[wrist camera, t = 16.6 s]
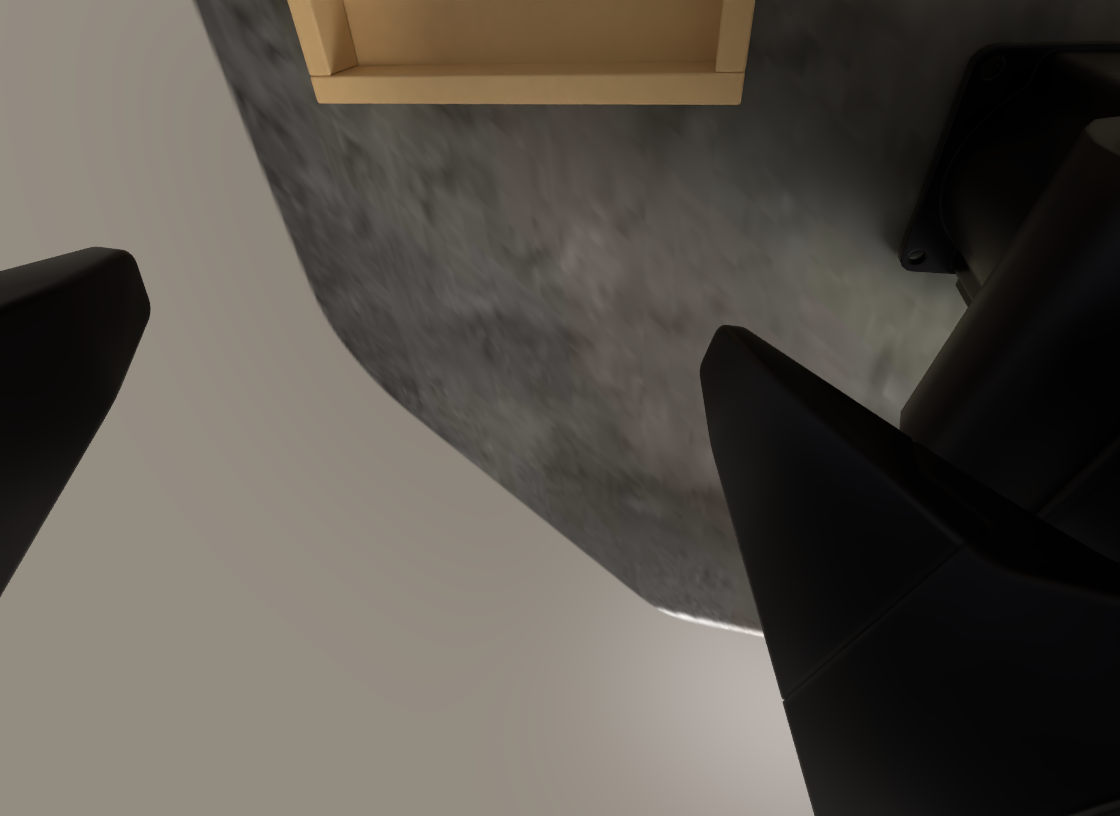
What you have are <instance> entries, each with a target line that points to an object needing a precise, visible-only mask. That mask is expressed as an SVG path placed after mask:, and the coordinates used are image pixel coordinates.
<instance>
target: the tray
mask: <svg viewBox="0 0 1120 816" xmlns="http://www.w3.org/2000/svg"><path fill="white" fill-rule="evenodd" d="M287 1H288V4H289V7H290V11H291V14H292V17H293V21H294V24H295V27H296V31H297V34H298V37H299V41H300V44H301V47H302V51H303V54H304V57H305V61H306V64H307V67H308V71H309V74H310V75H312V77H311V81H312V84H313V88H314V91H315V94H316V98H317V101H318V103H342V104H635V105H739V104H740V103H741V98H742V91H743V84H744V77H745V69H746V63H747V56H748V49H749V42H750V35H751V28H752V21H753V14H754V7H755V0H287Z"/></svg>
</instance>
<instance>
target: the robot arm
mask: <svg viewBox="0 0 1120 816" xmlns="http://www.w3.org/2000/svg"><path fill="white" fill-rule="evenodd" d="M996 56H997V57H998V58H999V65H998V66H997V68H996V69H995V70H994V71H993V72H992V73H990V74H988V75H984V76H983V75H982V74H981V68H982V66H983V65H984V63H985V62H986V61H987V60H989V59H990V58H992V57H996ZM919 250H921V251H924V253H923V254H922V256H921V257H919V258H917V259H909V256H910V255H911V254H912V253H913V252H915V251H919ZM898 257H899V260H900V262H901V265H902V267H904V268H905V269H906V270H909V271H916V272H932V273H948V274H957V276H958V281H957V283H956V287H957V288H958V290H959V292H960V294H961V296H962V297H963V299H964V301H965V303H966V305H967V306H968V309H967V310H966V312H965V313H964V315H963V316H962V318H961V319H960V321H959V322H958V324H957V326H956V327H955V329H954V330H953V332H952V333H951V335H950V336H949V338H948V339H947V341H946V343H945V344H944V346H943V347H942V349H941V350H940V352H939V353H938V355H937V356H936V358H935V360H934V361H933V363H932V364H931V366H930V367H929V369H928V370H927V372H926V374H925V375H924V377H923V378H922V380H921V381H920V383H919V384H918V386H917V387H916V389H915V391H914V392H913V394H912V395H911V397H910V398H909V400H908V401H907V403H906V404H905V406H904V408H903V409H902V411H901V417H900V430H899V429H897V428H896V427H894V426H893V425H891V424H890V423H888V422H887V421H885V420H884V419H882V418H881V417H879V416H878V415H876V414H874V413H873V412H871V411H870V410H868V409H867V408H865V407H864V406H862V405H861V404H859V403H858V402H856V401H855V400H853V399H852V398H850V397H849V396H847V395H846V394H844V393H843V392H841V391H840V390H838V389H837V388H835V387H834V386H832V385H831V384H829V383H828V382H826V381H825V380H823V379H822V378H820V377H819V376H817V375H816V374H814V373H813V372H811V371H810V370H808V369H807V368H805V367H803V366H802V365H800V364H799V363H797V362H796V361H794V360H793V359H791V358H790V357H788V356H787V355H785V354H784V353H782V352H781V351H779V350H778V349H776V348H775V347H773V346H772V345H770V344H769V343H767V342H766V341H764V340H763V339H761V338H760V337H758V336H757V335H755V334H754V333H752V332H751V331H749V330H748V329H746V328H744V327H739V326H731V325H722V326H720V327H719V328H718V329H717V330H716V332H715V334H714V336H713V338H712V341H711V343H710V345H709V347H708V349H707V352H706V354H705V356H704V358H703V360H702V363H701V367H700V379H701V386H702V392H703V399H704V405H705V412H706V418H707V425H708V431H709V437H710V442H711V447H712V451H713V455H714V459H715V463H716V466H717V470H718V473H719V477H720V480H721V484H722V487H723V491H724V495H725V498H726V502H727V505H728V509H729V512H730V516H731V519H732V523H733V527H734V530H735V534H736V537H737V541H738V544H739V548H740V551H741V555H742V559H743V562H744V566H745V569H746V573H747V576H748V580H749V583H750V587H751V591H752V594H753V598H754V601H755V605H756V608H757V612H758V615H759V619H760V623H761V626H762V630H763V633H764V637H765V640H766V644H767V647H768V651H769V654H770V658H771V662H772V665H773V669H774V672H775V676H776V679H777V683H778V686H779V690H780V694H781V697H782V699H784V701H783V706H784V709H785V713H786V716H787V720H788V723H789V727H790V730H791V734H792V737H793V741H794V745H795V748H796V752H797V755H798V759H799V762H800V766H801V769H802V773H803V776H804V780H805V784H806V787H807V791H808V794H809V798H810V801H811V805H812V808H813V812H814V815H815V816H1120V41H1093V42H1039V43H995V44H990V45H987V46H985V47H983V48H981V49H980V50H978V51H977V52H976V53H975V54H974V55H973V56H972V58H971V59H970V61H969V63H968V65H967V67H966V70H965V73H964V75H963V78H962V81H961V84H960V86H959V89H958V92H957V94H956V97H955V100H954V103H953V105H952V108H951V111H950V114H949V116H948V119H947V122H946V124H945V127H944V130H943V133H942V135H941V138H940V141H939V144H938V146H937V149H936V152H935V154H934V157H933V160H932V163H931V165H930V168H929V171H928V174H927V176H926V179H925V182H924V184H923V187H922V190H921V193H920V195H919V198H918V201H917V203H916V206H915V209H914V212H913V214H912V217H911V220H910V223H909V225H908V228H907V231H906V233H905V236H904V239H903V242H902V244H901V247H900V250H899V255H898ZM149 317H150V302H149V298H148V295H147V293H146V289H145V286H144V283H143V281H142V278H141V274H140V272H139V268H138V265H137V263H136V261H135V259H134V257H133V256H132V255H131V254H130V253H128V252H127V251H125V250H119V249H112V248H103V247H91V248H87V249H83V250H79V251H75V252H72V253H67V254H64V255H60V256H56V257H52V258H49V259H45V260H41V261H37V262H33V263H30V264H26V265H22V266H19V267H14V268H11V269H7V270H3V271H0V597H1V595H2V593H3V592H4V590H5V588H6V586H7V585H8V583H9V581H10V580H11V578H12V576H13V574H14V573H15V571H16V569H17V568H18V566H19V564H20V562H21V561H22V559H23V557H24V556H25V554H26V552H27V551H28V549H29V547H30V545H31V544H32V542H33V540H34V539H35V537H36V535H37V533H38V532H39V530H40V528H41V526H42V525H43V523H44V521H45V520H46V518H47V516H48V515H49V513H50V511H51V509H52V508H53V506H54V504H55V503H56V501H57V499H58V497H59V496H60V494H61V492H62V491H63V489H64V487H65V485H66V484H67V482H68V480H69V478H70V477H71V475H72V474H73V472H74V470H75V468H76V467H77V465H78V463H79V461H80V460H81V458H82V456H83V454H84V453H85V451H86V450H87V448H88V446H89V444H90V443H91V441H92V439H93V438H94V436H95V434H96V432H97V431H98V429H99V427H100V426H101V424H102V422H103V421H104V419H105V417H106V415H107V413H108V412H109V410H110V408H111V406H112V404H113V403H114V401H115V399H116V397H117V394H118V392H119V390H120V388H121V386H122V383H123V381H124V378H125V376H126V374H127V371H128V369H129V366H130V364H131V361H132V359H133V356H134V354H135V352H136V349H137V347H138V344H139V342H140V340H141V337H142V335H143V332H144V330H145V327H146V325H147V323H148V320H149Z"/></svg>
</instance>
